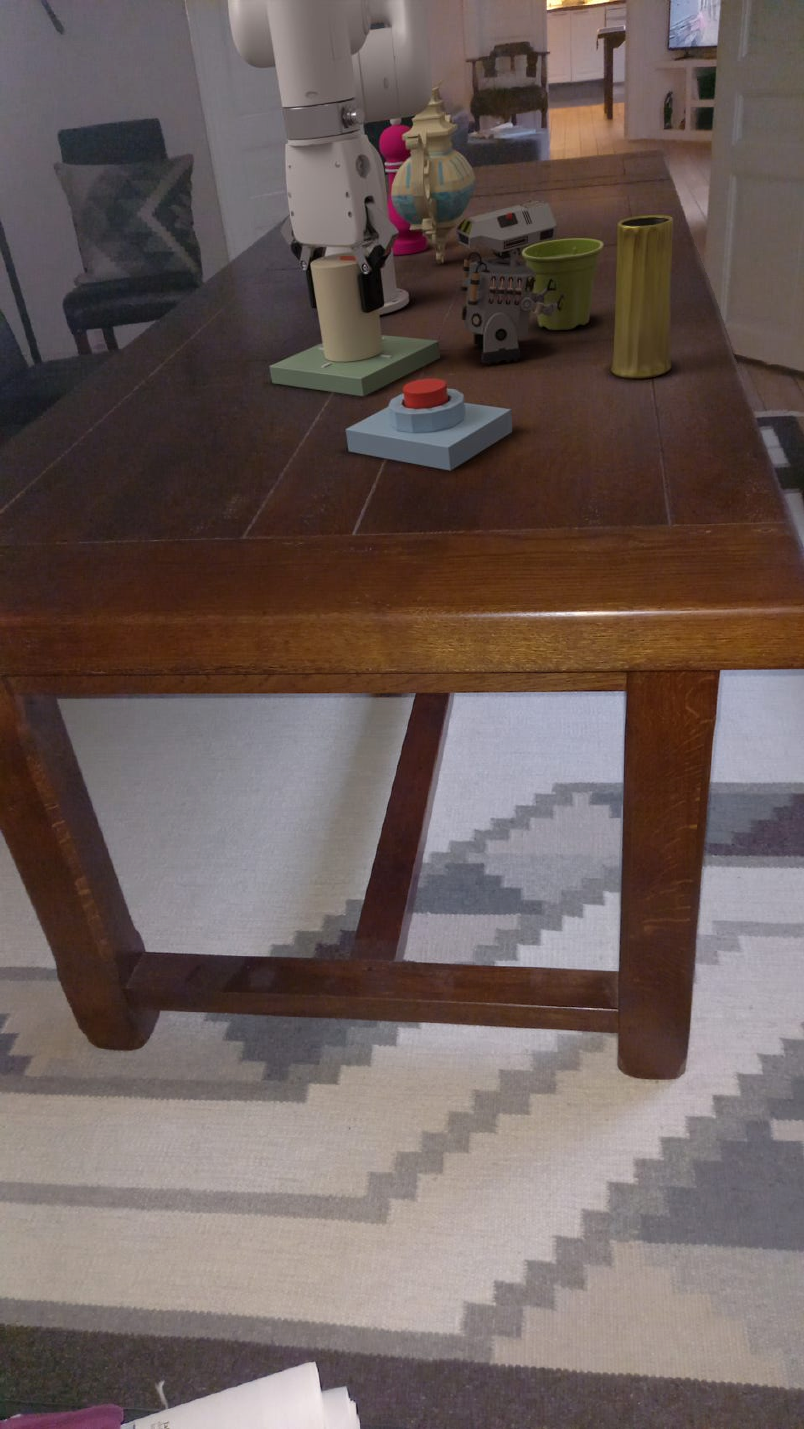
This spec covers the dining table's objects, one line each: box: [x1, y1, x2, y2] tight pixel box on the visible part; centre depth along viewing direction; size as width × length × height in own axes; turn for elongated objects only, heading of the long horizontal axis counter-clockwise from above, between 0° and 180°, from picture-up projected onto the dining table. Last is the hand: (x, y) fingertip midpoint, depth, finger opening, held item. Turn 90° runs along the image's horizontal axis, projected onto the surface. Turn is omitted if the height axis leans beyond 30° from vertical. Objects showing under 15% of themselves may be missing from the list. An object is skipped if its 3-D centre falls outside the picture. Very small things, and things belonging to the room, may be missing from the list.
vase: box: [610, 214, 674, 380], centre depth 99 cm, size 6×6×14 cm
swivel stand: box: [269, 334, 441, 397], centre depth 113 cm, size 14×14×2 cm
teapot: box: [391, 49, 476, 264], centre depth 147 cm, size 24×12×30 cm, turn 166°
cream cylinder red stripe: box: [311, 252, 383, 362], centre depth 110 cm, size 7×7×10 cm
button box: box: [345, 387, 513, 471], centre depth 92 cm, size 12×10×4 cm
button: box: [402, 378, 448, 409], centre depth 90 cm, size 4×4×2 cm
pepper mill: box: [378, 118, 428, 256], centre depth 160 cm, size 7×7×20 cm
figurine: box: [455, 199, 564, 366], centre depth 109 cm, size 9×12×15 cm
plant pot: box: [521, 237, 604, 331], centre depth 117 cm, size 9×9×9 cm
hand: (347, 306), depth 110 cm, fingers closed on cream cylinder red stripe, 6 cm apart
